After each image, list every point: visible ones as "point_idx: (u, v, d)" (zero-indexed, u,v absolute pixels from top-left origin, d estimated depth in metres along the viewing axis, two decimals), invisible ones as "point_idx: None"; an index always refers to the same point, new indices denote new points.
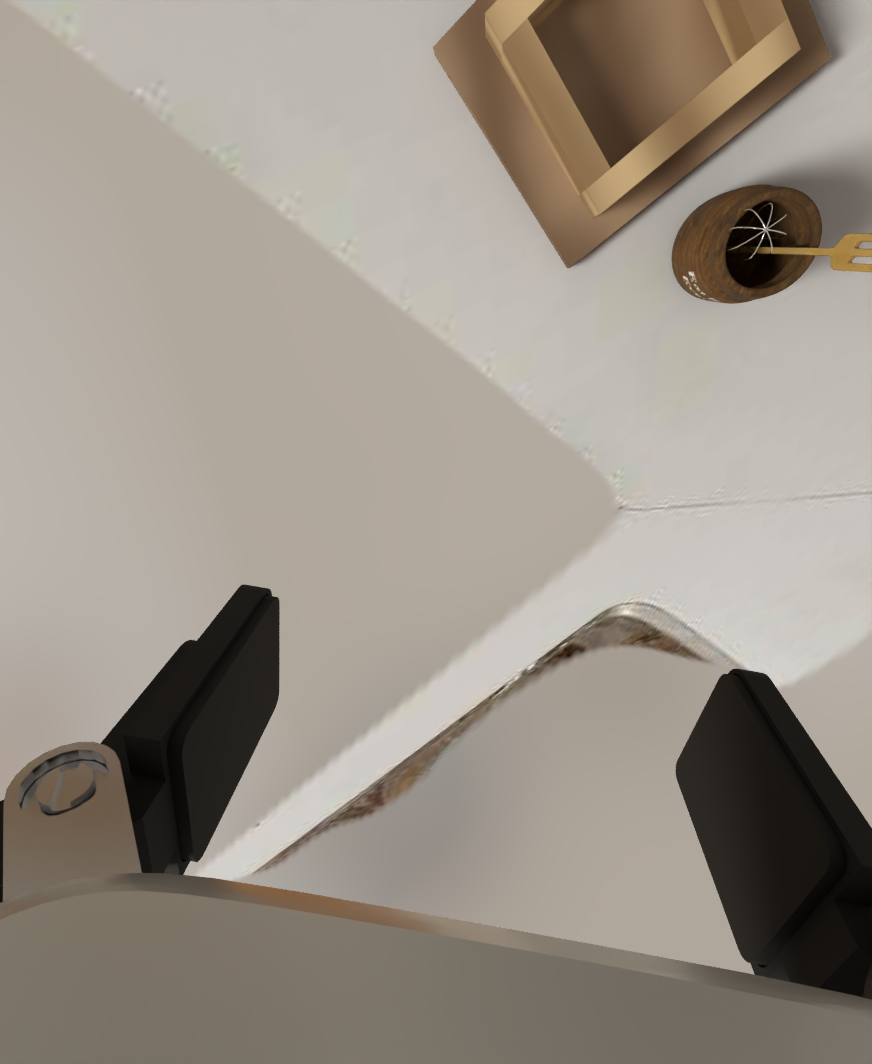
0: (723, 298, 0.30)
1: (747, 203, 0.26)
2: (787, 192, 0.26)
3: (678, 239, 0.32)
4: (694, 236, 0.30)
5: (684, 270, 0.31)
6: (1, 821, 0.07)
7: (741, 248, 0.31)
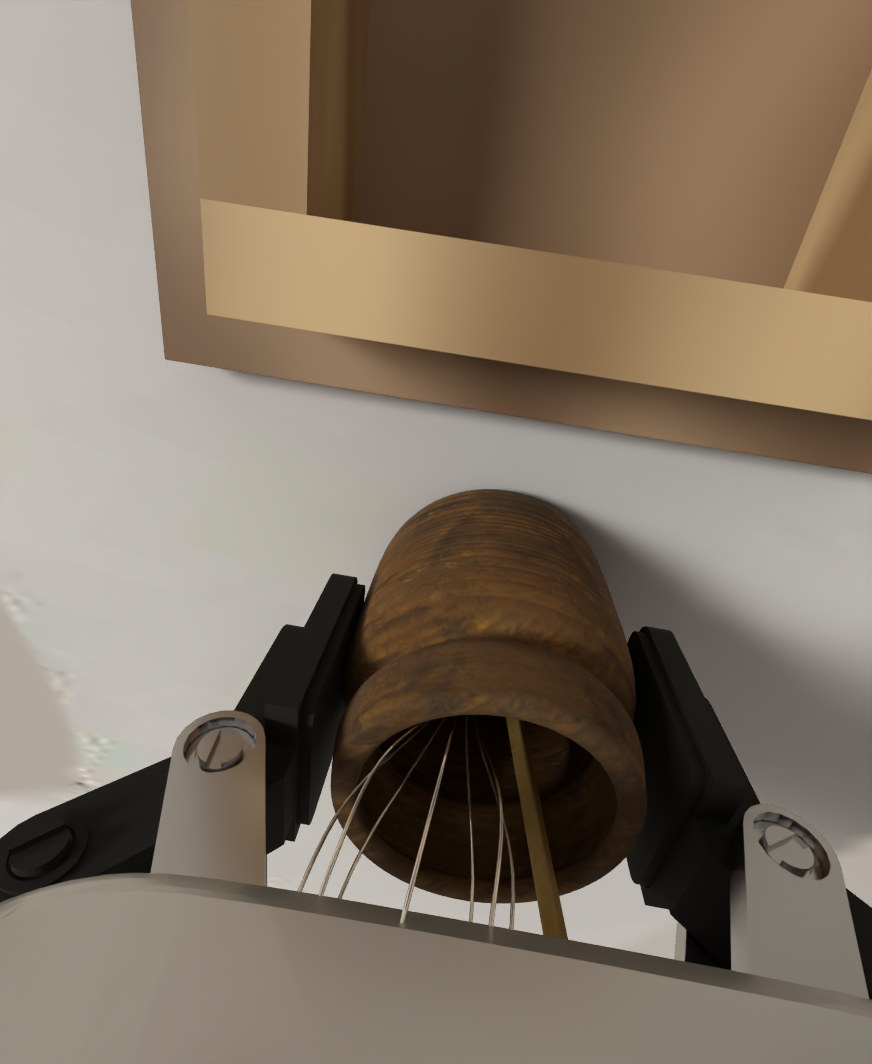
0: None
1: (510, 702, 0.07)
2: (615, 762, 0.08)
3: (420, 520, 0.12)
4: (405, 581, 0.10)
5: (365, 601, 0.12)
6: (163, 779, 0.07)
7: None
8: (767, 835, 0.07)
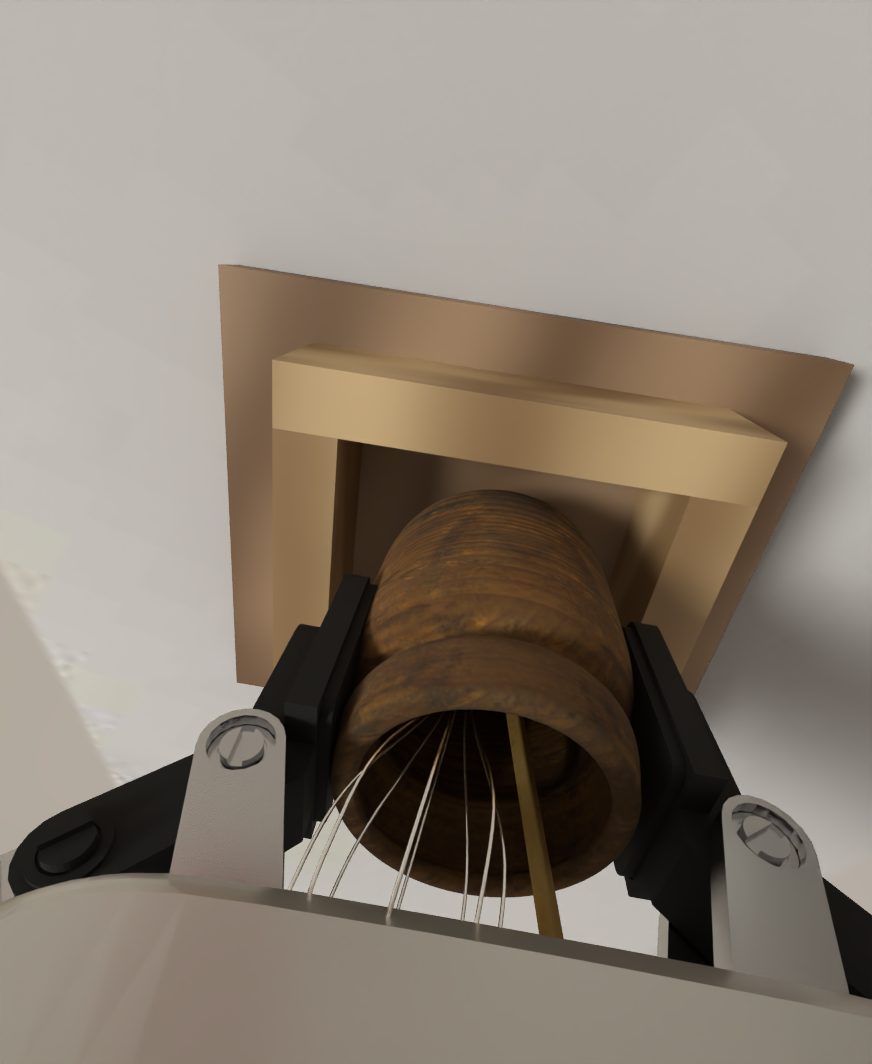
0: None
1: (505, 698, 0.07)
2: (609, 758, 0.08)
3: (423, 519, 0.12)
4: (406, 579, 0.10)
5: None
6: (185, 777, 0.07)
7: None
8: (745, 826, 0.07)
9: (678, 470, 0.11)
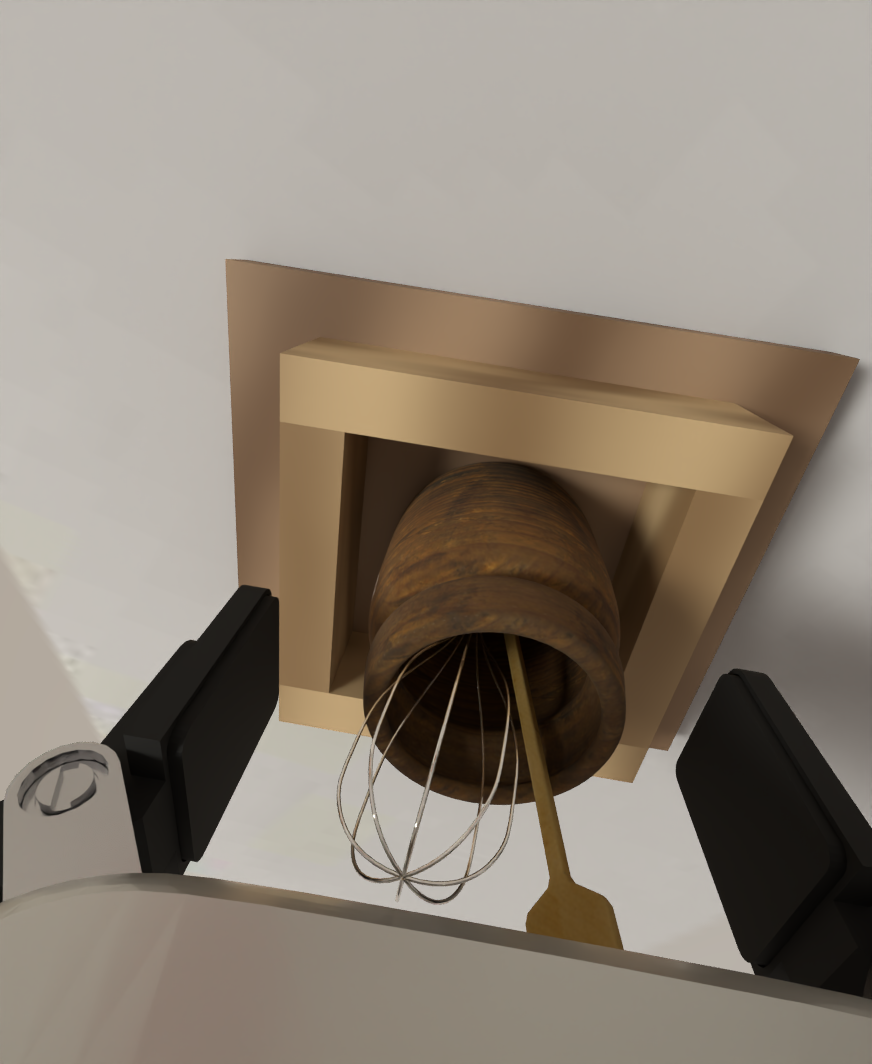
0: None
1: (515, 621, 0.09)
2: (599, 672, 0.09)
3: (433, 487, 0.14)
4: (424, 534, 0.12)
5: (385, 556, 0.13)
6: (1, 821, 0.07)
7: None
8: None
9: (684, 463, 0.12)
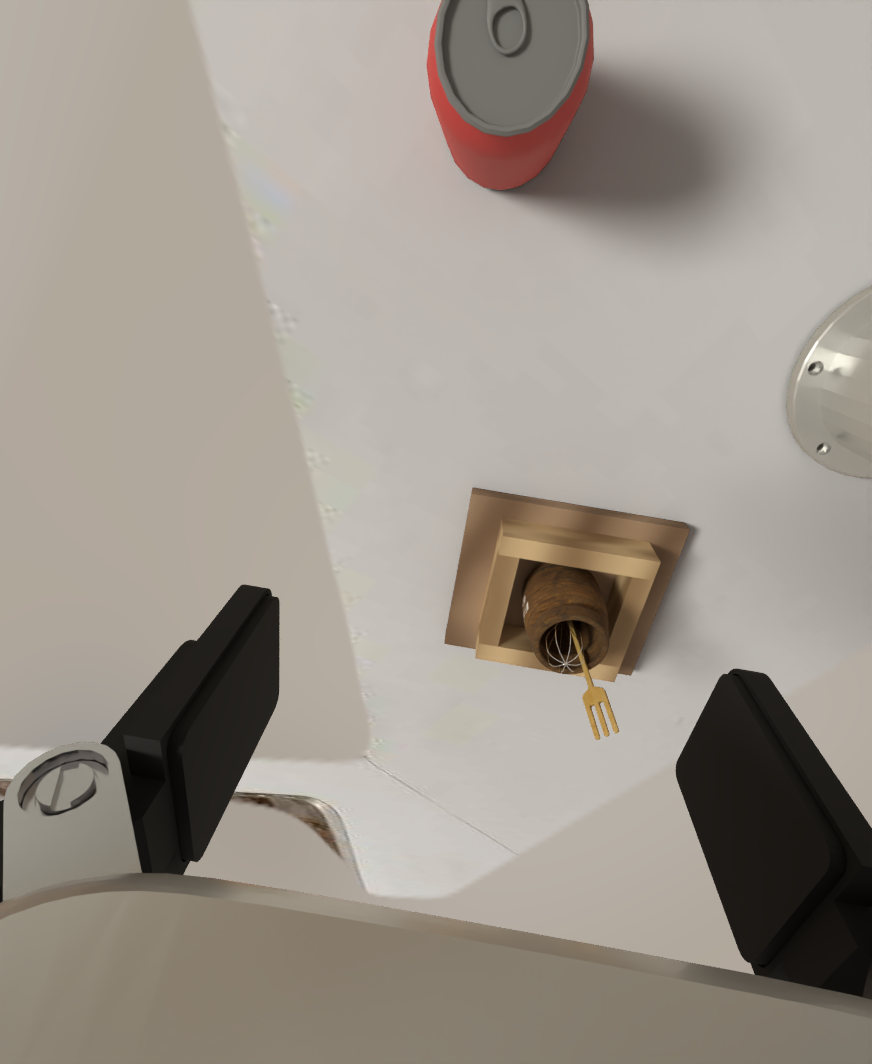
0: (529, 638, 0.38)
1: (579, 617, 0.34)
2: (601, 631, 0.34)
3: (542, 570, 0.39)
4: (546, 590, 0.37)
5: (527, 595, 0.39)
6: (1, 821, 0.07)
7: None
8: None
9: (628, 569, 0.37)
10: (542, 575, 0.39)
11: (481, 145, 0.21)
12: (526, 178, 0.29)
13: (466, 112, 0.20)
